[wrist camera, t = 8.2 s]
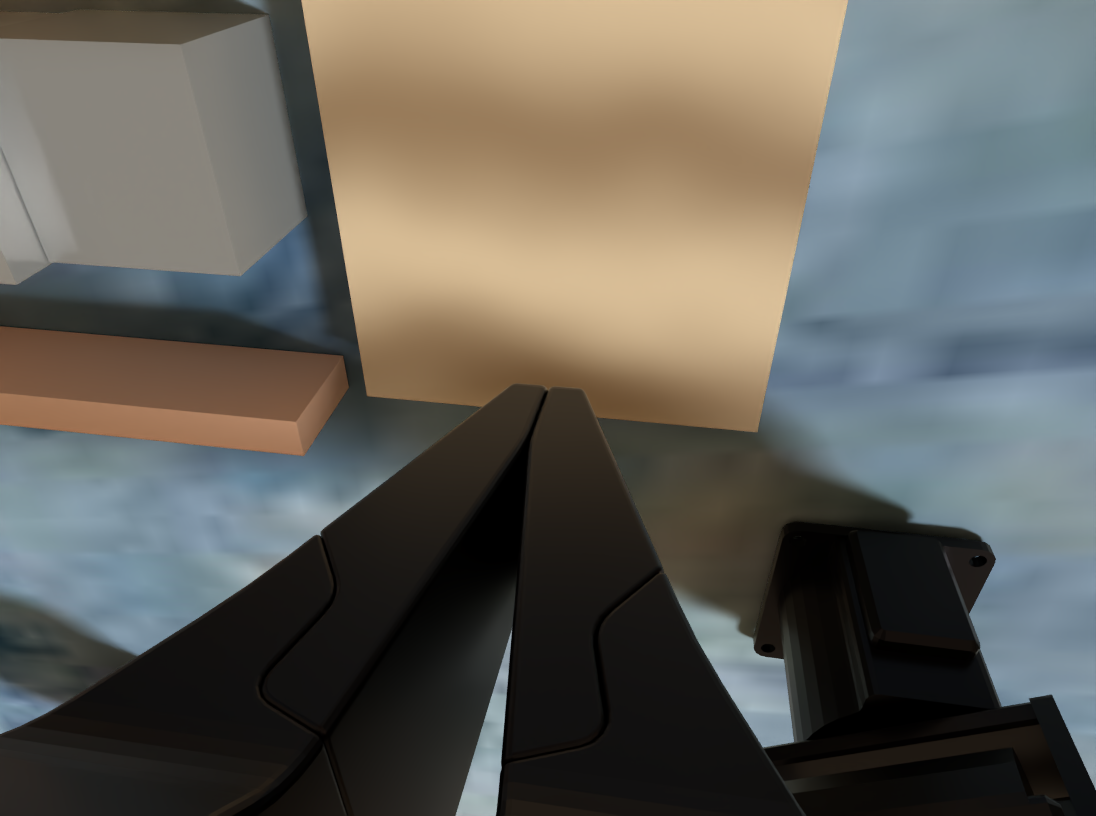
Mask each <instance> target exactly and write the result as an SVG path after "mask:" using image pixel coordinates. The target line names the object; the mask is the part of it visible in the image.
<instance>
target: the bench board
mask: <svg viewBox="0 0 1096 816" xmlns="http://www.w3.org/2000/svg"><path fill="white" fill-rule="evenodd" d="M301 1H302V7H303V13H304V19H305V25H306V31H307V37H308V43H309V49H310V55H311V61H312V67H313V73H314V79H315V85H316V91H317V97H318V103H319V109H320V115H321V121H322V127H323V133H324V139H325V145H326V151H327V157H328V163H329V169H330V175H331V181H332V188H333V194H334V200H335V206H336V212H337V218H338V224H339V230H340V236H341V242H342V248H343V254H344V260H345V266H346V272H347V278H348V284H349V290H350V296H351V302H352V308H353V314H354V320H355V326H356V332H357V338H358V344H359V350H360V356H361V362H362V368H363V374H364V380H365V386H366V392H367V396H371V397H382V398H393V399H404V400H415V401H425V402H436V403H447V404H458V405H469V406H479V407H483V406H484V405H485V404H487V403H488V402H489V401H491V400H492V399H493V398H494V397H496V396H497V395H498V394H500V393H501V392H502V391H504V390H505V389H506V388H507V387H509V386H510V385H512V384H515V383H521V384H533V385H543V386H545V387H546V388H547V390H549V388H551V387H553V386H558V387H571V388H581V389H583V390H584V391H585V393H586V395H587V397H588V399H589V402H590V404H591V406H592V408H593V411H594V413H595V415H596V417H598V418H609V419H620V420H631V421H641V422H652V423H663V424H674V425H685V426H695V427H706V428H717V429H728V430H739V431H749V432H757V431H758V426H759V421H760V416H761V412H762V407H763V402H764V397H765V393H766V388H767V383H768V378H769V374H770V369H771V364H772V359H773V355H774V350H775V345H776V340H777V336H778V331H779V326H780V321H781V317H782V312H783V307H784V302H785V298H786V293H787V288H788V283H789V279H790V274H791V269H792V264H793V260H794V255H795V250H796V245H797V241H798V236H799V231H800V226H801V222H802V217H803V212H804V207H805V203H806V198H807V193H808V188H809V184H810V179H811V174H812V169H813V165H814V160H815V155H816V150H817V146H818V141H819V136H820V131H821V127H822V122H823V117H824V112H825V108H826V103H827V98H828V93H829V89H830V84H831V79H832V74H833V70H834V65H835V60H836V55H837V51H838V46H839V41H840V36H841V32H842V27H843V22H844V17H845V13H846V8H847V3H848V0H301Z"/></svg>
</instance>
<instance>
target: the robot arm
mask: <svg viewBox="0 0 1096 816" xmlns="http://www.w3.org/2000/svg"><path fill="white" fill-rule="evenodd" d="M795 536H801V538H797V539H795V538H793V537H795ZM975 556H978V557H976V558H972V557H975ZM995 560H996V558H995V556H994V554H993V552H992V549H991V547H990V545H988V544H987V543H985V542H981V541H975V540H965V539H956V538H947V537H937V536H928V535H918V534H909V533H899V532H890V531H880V530H871V529H862V528H852V527H843V526H833V525H824V524H814V523H805V522H792V523H789V524H787V525H785V526H784V527H783V528H782V530H781V533H780V536H779V540H778V544H777V548H776V552H775V556H774V560H773V563H772V567H771V571H770V575H769V579H768V583H767V587H766V591H765V594H764V598H763V602H762V606H761V610H760V614H759V618H758V621H757V625H756V629H755V633H754V637H753V641H754V650H755V652H756V653H757V654H759V655H761V656H765V657H772V658H779V659H784V663H785V671H786V679H787V687H788V695H789V704H790V712H791V720H792V728H793V736H794V742H793V743H788V744H782V745H776V746H770V747H764V748H763V747H762V746H761V744H760V742H759V741H758V739H757V738H756V736H755V735H754V733H753V731H752V730H751V728H750V727H749V725H748V723H747V722H746V720H745V719H744V717H743V715H742V714H741V712H740V711H739V709H738V708H737V706H736V704H735V703H734V701H733V700H732V698H731V696H730V695H729V693H728V692H727V690H726V688H725V687H724V685H723V684H722V682H721V680H720V678H719V677H718V675H717V673H716V672H715V670H714V668H713V666H712V665H711V663H710V661H709V660H708V658H707V656H706V654H705V653H704V651H703V649H702V648H701V646H700V644H699V643H698V641H697V639H696V637H695V635H694V633H693V630H692V628H691V626H690V624H689V622H688V620H687V618H686V616H685V614H684V612H683V610H682V608H681V606H680V604H679V602H678V600H677V598H676V595H675V593H674V591H673V589H672V586H671V584H670V582H669V580H668V577H667V575H666V574H664V570H663V567H662V565H661V562H660V560H659V558H658V556H657V553H656V551H655V549H654V547H653V544H652V542H651V540H650V537H649V535H648V533H647V531H646V528H645V526H644V524H643V522H642V519H641V517H640V515H639V513H638V510H637V508H636V506H635V504H634V501H633V499H632V497H631V494H630V492H629V490H628V488H627V485H626V483H625V481H624V479H623V476H622V474H621V472H620V470H619V467H618V465H617V463H616V461H615V458H614V456H613V454H612V451H611V449H610V447H609V445H608V442H607V440H606V438H605V436H604V433H603V431H602V429H601V427H600V424H599V422H598V420H597V418H596V415H595V413H594V411H593V408H592V406H591V404H590V402H589V399H588V397H587V395H586V393H585V391H584V390H583V389H581V388H571V387H558V386H553V387H551V388H549V390H547V388H546V387H545V386H543V385H533V384H521V383H515V384H512V385H510V386H509V387H507V388H506V389H505V390H504V391H502V392H501V393H500V394H498V395H497V396H496V397H494V398H493V399H492V400H491V401H489V402H488V403H487V404H485V405H484V406H483V407H481V408H480V409H479V410H478V411H476V412H475V413H474V414H472V415H471V416H470V417H468V418H467V419H466V420H465V421H463V422H462V423H461V424H459V425H458V426H457V427H455V428H454V429H453V430H452V431H450V432H449V433H448V434H446V435H445V436H444V437H442V438H441V439H440V440H439V441H437V442H436V443H435V444H433V445H432V446H431V447H429V448H428V449H427V450H426V451H424V452H423V453H422V454H420V455H419V456H418V457H416V458H415V459H414V460H412V461H411V462H410V463H409V464H407V465H406V466H405V467H403V468H402V469H401V470H399V471H398V472H397V473H396V474H394V475H393V476H392V477H390V478H389V479H388V480H386V481H385V482H384V483H383V484H381V485H380V486H379V487H377V488H376V489H375V490H373V491H372V492H371V493H370V494H368V495H367V496H366V497H364V498H363V499H362V500H360V501H359V502H358V503H357V504H355V505H354V506H353V507H351V508H350V509H349V510H347V511H346V512H345V513H344V514H342V515H341V516H340V517H338V518H337V519H336V520H334V521H333V522H332V523H331V524H329V525H328V526H327V527H325V528H324V529H323V530H322V531H321V536H319V535H315V536H313V537H312V538H311V539H309V540H308V541H307V542H305V543H304V544H303V545H301V546H300V547H299V548H298V549H296V550H295V551H294V552H292V553H291V554H290V555H288V556H287V557H286V558H284V559H283V560H282V561H280V562H279V563H277V564H276V565H275V566H273V567H272V568H271V569H269V570H268V571H266V572H265V573H264V574H262V575H261V576H260V577H258V578H257V579H256V580H254V581H253V582H251V583H250V584H249V585H247V586H246V587H244V588H243V589H241V590H240V591H238V592H237V593H235V594H234V595H232V596H231V597H229V598H228V599H226V600H225V601H223V602H222V603H220V604H219V605H217V606H216V607H214V608H213V609H211V610H210V611H208V612H207V613H205V614H204V615H202V616H201V617H199V618H198V619H196V620H194V621H193V622H191V623H190V624H188V625H186V626H185V627H183V628H182V629H180V630H179V631H177V632H175V633H174V634H172V635H171V636H169V637H168V638H166V639H164V640H163V641H161V642H160V643H158V644H157V645H155V646H153V647H152V648H150V649H149V650H147V651H146V652H144V653H142V654H141V655H139V656H138V657H136V658H135V659H133V660H131V661H130V662H128V663H127V664H125V665H123V666H122V667H120V668H119V669H117V670H116V671H114V672H112V673H111V674H109V675H108V676H106V677H105V678H103V679H101V680H100V681H98V682H97V683H95V684H94V685H92V686H90V687H89V688H87V689H86V690H84V691H83V692H81V693H79V694H78V695H76V696H75V697H73V698H72V699H70V700H68V701H66V702H65V703H63V704H61V705H60V706H58V707H56V708H55V709H53V710H51V711H49V712H48V713H46V714H44V715H42V716H40V717H38V718H36V719H34V720H32V721H30V722H28V723H26V724H24V725H22V726H19V727H17V728H15V729H12V730H10V731H7V732H5V733H2V734H0V816H455V815H456V812H457V809H458V805H459V802H460V799H461V795H462V792H463V789H464V785H465V782H466V779H467V775H468V772H469V769H470V766H471V762H472V759H473V756H474V752H475V749H476V746H477V742H478V739H479V736H480V732H481V729H482V726H483V722H484V719H485V716H486V713H487V709H488V706H489V703H490V699H491V696H492V693H493V689H494V686H495V683H496V679H497V676H498V673H499V669H500V666H501V663H502V659H503V656H504V653H505V650H506V646H507V643H508V640H509V636H510V633H511V630H512V639H511V651H510V663H509V675H508V687H507V699H506V711H505V723H504V735H503V747H502V759H501V766H502V770H501V773H500V783H499V794H498V804H497V812H496V816H1096V790H1095V788H1094V785H1093V783H1092V781H1091V779H1090V777H1089V775H1088V772H1087V770H1086V768H1085V766H1084V764H1083V761H1082V759H1081V757H1080V755H1079V753H1078V751H1077V748H1076V746H1075V744H1074V742H1073V740H1072V738H1071V735H1070V733H1069V731H1068V729H1067V727H1066V725H1065V722H1064V720H1063V718H1062V716H1061V714H1060V711H1059V709H1058V707H1057V705H1056V703H1055V701H1054V698H1053V696H1052V695H1046V696H1041V697H1035V698H1029V700H1030V702H1028V703H1022V704H1016V705H1010V706H1004V707H1002V706H1001V703H1000V701H999V698H998V695H997V693H996V690H995V687H994V685H993V682H992V679H991V677H990V674H989V672H988V669H987V666H986V664H985V661H984V658H983V656H982V653H981V650H980V642H979V640H978V637H977V634H976V632H975V629H974V626H973V624H972V621H971V618H970V616H969V613H970V611H971V609H972V607H973V605H974V603H975V601H976V599H977V597H978V595H979V593H980V591H981V589H982V587H983V586H984V584H985V582H986V580H987V578H988V576H989V574H990V572H991V570H992V568H993V566H994V564H995ZM512 626H513V627H512Z"/></svg>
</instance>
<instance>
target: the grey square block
mask: <svg viewBox="0 0 1096 816" xmlns="http://www.w3.org/2000/svg"><path fill="white" fill-rule="evenodd" d="M0 146H1V148H2V150H3V153H4V155H5V158H6V160H7V162H8V165H9V167H10V170H11V172H12V174H13V177H14V179H15V182H16V184H17V186H18V189H19V191H20V194H21V196H22V198H23V201H24V203H25V206H26V208H27V210H28V213H29V215H30V218H31V220H32V222H33V225H34V227H35V230H36V232H37V234H38V237H39V239H40V242H41V244H42V246H43V249H44V251H45V254H46V256H47V258H48V261H49V262H55V263H69V264H82V265H96V266H110V267H123V268H137V269H150V270H164V271H178V272H191V273H205V274H219V275H232V276H241V275H242V274H244V273H245V272H246V271H247V270H248V269H249V268H250V267H251V266H252V265H254V264H255V263H256V262H257V261H258V260H259V259H260V258H261V257H262V256H264V255H265V254H266V253H267V252H268V251H269V250H270V249H271V248H272V247H274V246H275V245H276V244H277V243H278V242H279V241H280V240H281V239H282V238H284V237H285V236H286V235H287V234H288V233H289V232H290V231H291V230H292V229H294V228H295V227H296V226H297V225H298V224H299V223H300V222H301V221H302V220H304V219H305V218H306V217H307V216H308V215H307V210H306V204H305V199H304V194H303V189H302V184H301V178H300V173H299V168H298V163H297V158H296V152H295V147H294V142H293V137H292V131H291V126H290V121H289V116H288V111H287V105H286V100H285V95H284V90H283V85H282V79H281V74H280V69H279V64H278V58H277V53H276V48H275V43H274V38H273V32H272V27H271V22H270V17H269V15H264V14H228V13H192V12H155V11H119V10H83V9H78V10H73V11H69V12H64V13H60V14H55V15H51V16H47V17H42V18H38V19H33V20H29V21H24V22H20V23H15V24H11V25H7V26H2V27H0Z"/></svg>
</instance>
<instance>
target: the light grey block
mask: <svg viewBox="0 0 1096 816" xmlns="http://www.w3.org/2000/svg"><path fill="white" fill-rule="evenodd" d="M55 14H60V13H47V12H13V11H0V27H2V26H7V25H11V24H15V23H20V22H24V21H29V20H33V19H38V18H42V17H47V16H51V15H55ZM52 263H53V262H49V261H48V258H47V256H46V254H45V251H44V249H43V246H42V244H41V242H40V239H39V237H38V234H37V232H36V230H35V227H34V225H33V222H32V220H31V218H30V215H29V213H28V210H27V208H26V206H25V203H24V201H23V198H22V196H21V194H20V191H19V189H18V186H17V184H16V182H15V179H14V177H13V174H12V172H11V170H10V167H9V165H8V162H7V160H6V158H5V155H4V153H3V150H2V148H1V146H0V284H13V285H18V284H19V283H21V282H22V281H24V280H26V279H27V278H29V277H31V276H32V275H34V274H35V273H37V272H39V271H40V270H42V269H44V268H45V267H47V266H48V265H50V264H52Z"/></svg>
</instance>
